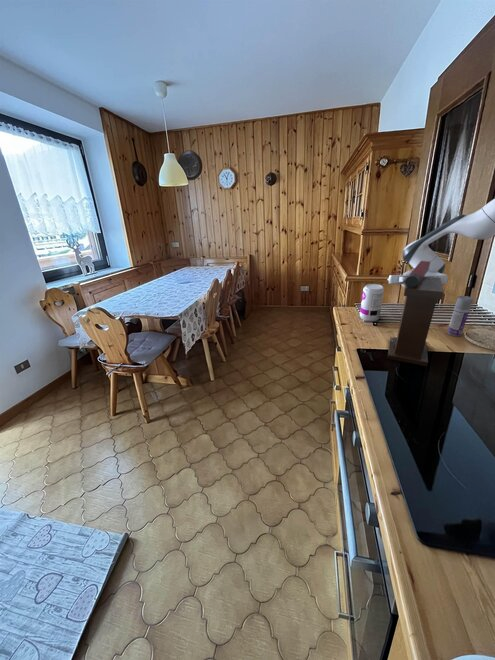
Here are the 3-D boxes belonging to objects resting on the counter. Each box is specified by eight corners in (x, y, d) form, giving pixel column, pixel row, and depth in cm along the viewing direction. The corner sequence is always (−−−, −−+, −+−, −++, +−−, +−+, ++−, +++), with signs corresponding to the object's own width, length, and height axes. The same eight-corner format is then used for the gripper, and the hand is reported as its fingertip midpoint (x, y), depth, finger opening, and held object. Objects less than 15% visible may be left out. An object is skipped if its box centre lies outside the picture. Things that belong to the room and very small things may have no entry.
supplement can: (358, 320, 126) (362, 288, 119) (361, 313, 132) (365, 282, 125) (377, 323, 122) (383, 290, 116) (379, 315, 129) (385, 284, 122)
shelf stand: (389, 340, 110) (402, 275, 98) (425, 346, 104) (444, 278, 92) (387, 358, 99) (401, 288, 87) (426, 366, 94) (448, 292, 81)
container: (457, 330, 113) (468, 295, 106) (463, 336, 109) (476, 300, 102) (444, 330, 113) (455, 295, 106) (450, 336, 109) (462, 300, 102)
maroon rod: (418, 268, 103) (420, 259, 101) (429, 270, 101) (431, 260, 99) (403, 286, 88) (406, 275, 86) (416, 288, 86) (419, 276, 84)
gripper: (387, 272, 123) (389, 271, 110) (443, 271, 115) (452, 270, 102) (386, 287, 124) (388, 287, 111) (441, 287, 116) (450, 287, 103)
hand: (419, 279), depth 107 cm, fingers open, 8 cm apart
